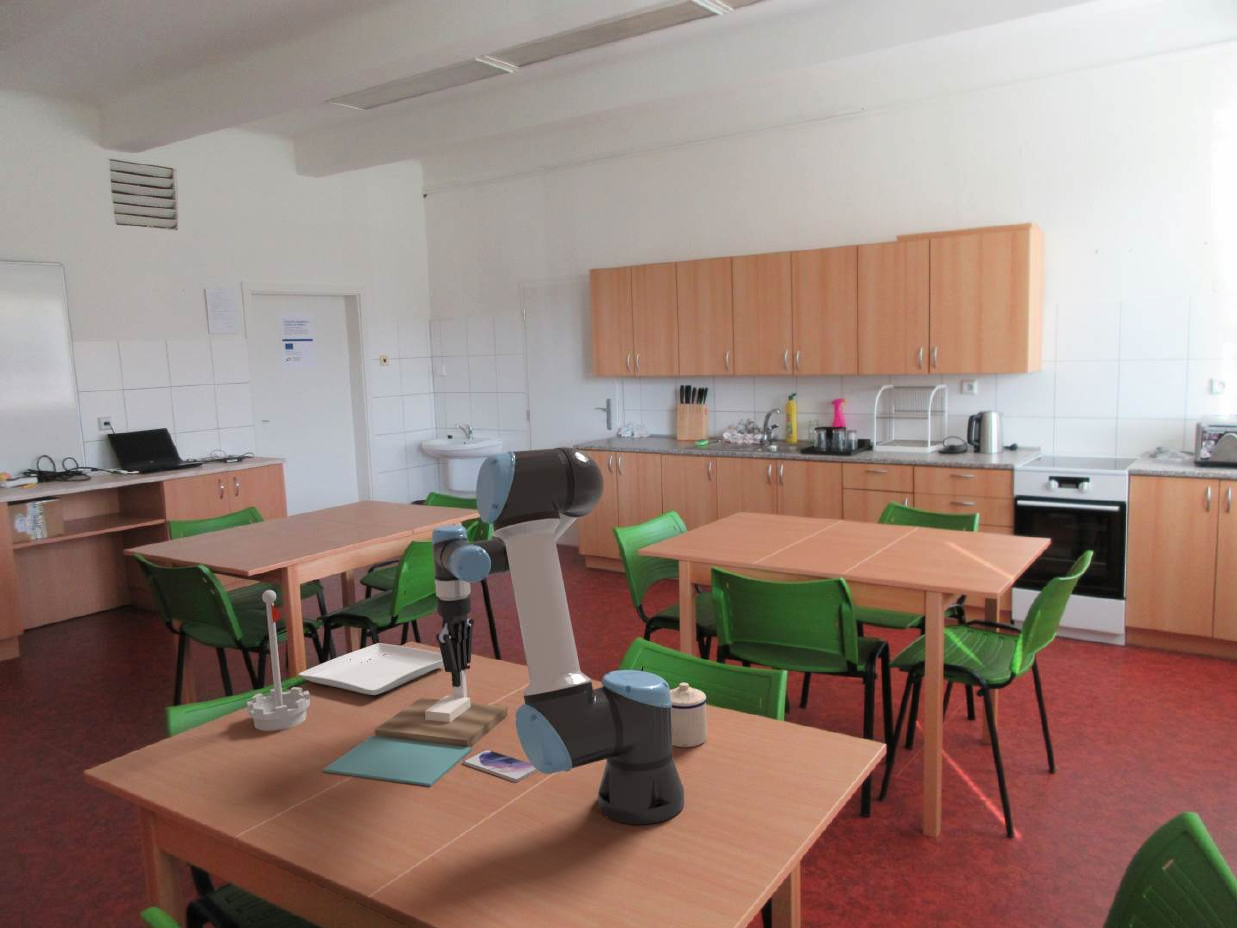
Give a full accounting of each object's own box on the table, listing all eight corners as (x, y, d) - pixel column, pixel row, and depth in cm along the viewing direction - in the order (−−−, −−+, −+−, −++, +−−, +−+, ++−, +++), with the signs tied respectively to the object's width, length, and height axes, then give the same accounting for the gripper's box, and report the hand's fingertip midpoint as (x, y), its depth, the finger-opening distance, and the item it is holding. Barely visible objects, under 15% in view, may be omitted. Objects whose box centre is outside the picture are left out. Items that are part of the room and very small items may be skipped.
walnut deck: (467, 749, 187) (467, 740, 186) (375, 738, 194) (374, 729, 194) (507, 715, 203) (507, 706, 203) (421, 706, 211) (420, 697, 211)
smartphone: (486, 748, 186) (541, 766, 177) (486, 752, 186) (542, 770, 177) (460, 761, 180) (516, 780, 171) (460, 765, 180) (516, 784, 171)
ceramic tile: (450, 722, 196) (449, 713, 195) (425, 719, 198) (424, 710, 197) (470, 706, 204) (470, 697, 204) (447, 704, 206) (446, 695, 206)
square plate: (454, 668, 237) (453, 653, 236) (374, 705, 214) (373, 689, 213) (379, 653, 251) (378, 639, 251) (297, 686, 228) (295, 671, 228)
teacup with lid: (715, 734, 189) (714, 680, 187) (694, 752, 181) (692, 695, 180) (665, 723, 195) (663, 670, 194) (642, 740, 188) (640, 685, 186)
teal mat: (430, 786, 171) (430, 783, 171) (323, 771, 180) (323, 769, 179) (472, 749, 186) (472, 747, 186) (371, 737, 194) (371, 735, 194)
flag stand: (238, 723, 206) (225, 592, 202) (293, 704, 215) (281, 579, 211) (266, 737, 197) (253, 601, 193) (322, 718, 206) (310, 588, 203)
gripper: (453, 587, 210) (460, 686, 213) (422, 603, 198) (430, 708, 201) (482, 589, 207) (489, 689, 210) (453, 604, 195) (460, 711, 198)
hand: (460, 698), depth 206 cm, fingers closed
